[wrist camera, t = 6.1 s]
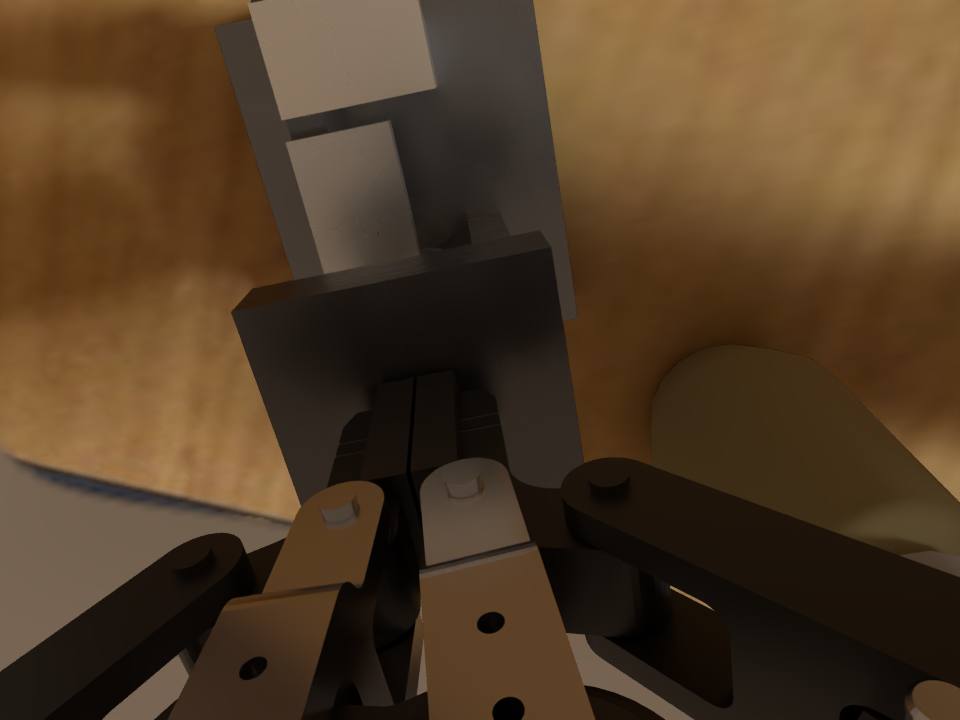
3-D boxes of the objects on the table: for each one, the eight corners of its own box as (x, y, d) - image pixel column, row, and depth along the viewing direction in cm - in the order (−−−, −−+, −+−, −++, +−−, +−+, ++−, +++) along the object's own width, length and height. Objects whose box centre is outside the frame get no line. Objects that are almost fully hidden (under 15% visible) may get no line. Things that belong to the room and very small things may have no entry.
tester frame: (568, 302, 27) (657, 453, 16) (330, 350, 27) (254, 532, 16) (519, -30, 22) (598, -141, 11) (232, 31, 23) (32, -19, 11)
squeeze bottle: (588, 399, 29) (789, 829, 12) (743, 278, 27) (1223, 589, 10) (691, 511, 31) (972, 989, 15) (838, 408, 30) (1343, 819, 13)
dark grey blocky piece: (532, 345, 24) (592, 513, 14) (368, 378, 24) (322, 565, 14) (489, 97, 20) (530, 108, 11) (298, 136, 20) (184, 180, 11)
